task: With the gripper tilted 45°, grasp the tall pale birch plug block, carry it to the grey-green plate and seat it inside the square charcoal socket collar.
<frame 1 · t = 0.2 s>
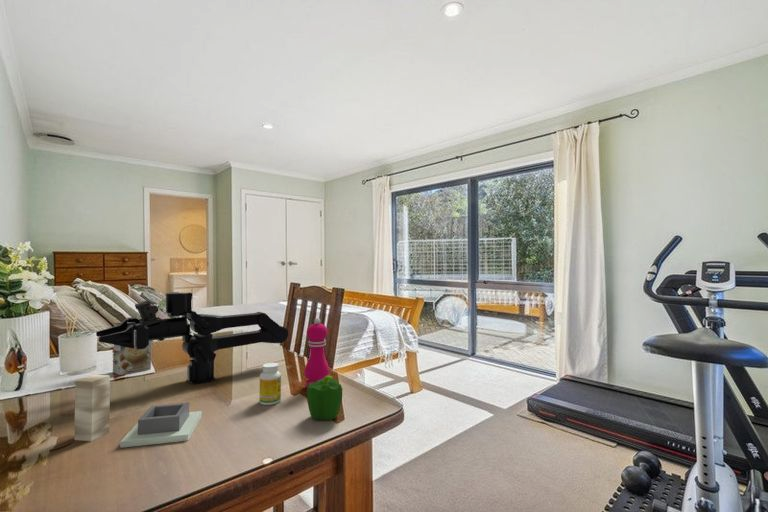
hand: (97, 336, 95), 17 cm above the table, tool horizontal, fingers open, 9 cm apart
pepper mill: (316, 387, 106), on the table
supplement bottle: (270, 402, 95), on the table
socket holder: (164, 430, 78), on the table
bell pepper: (324, 417, 86), on the table
plug block: (92, 435, 76), on the table
coffee box: (132, 371, 121), on the table
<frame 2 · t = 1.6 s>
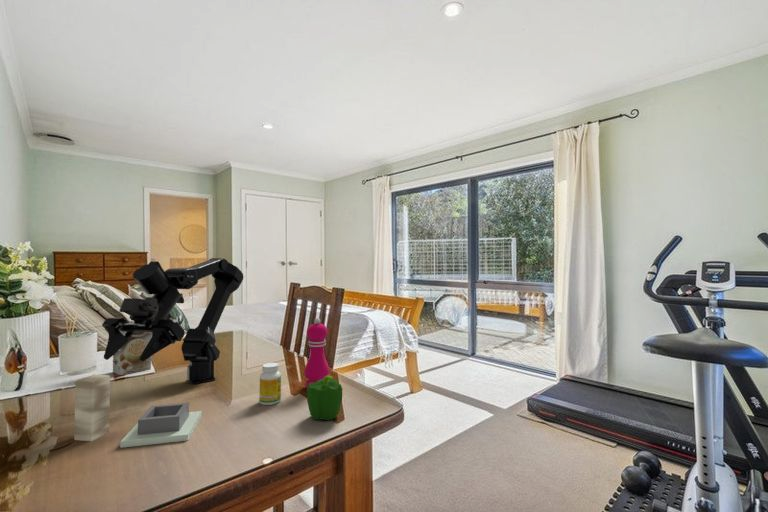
hand: (122, 359, 83), 14 cm above the table, tool tilted 45°, fingers open, 9 cm apart
nothing on the table moved.
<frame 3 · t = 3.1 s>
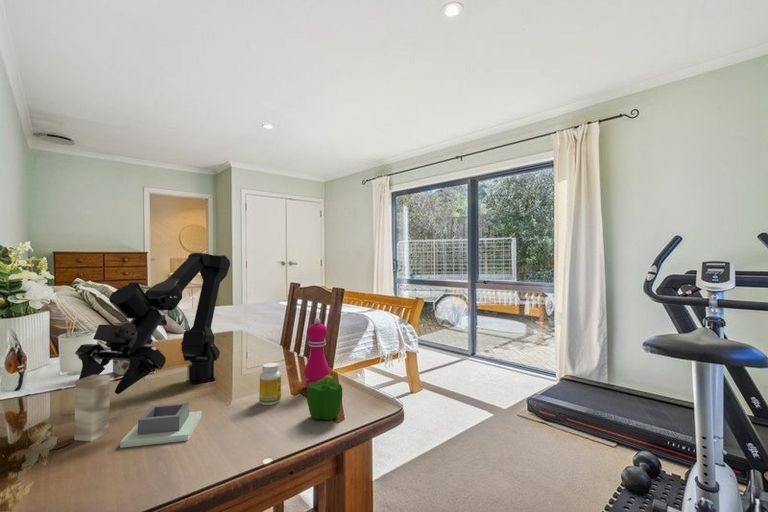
hand: (96, 392, 77), 9 cm above the table, tool tilted 45°, fingers open, 9 cm apart
nothing on the table moved.
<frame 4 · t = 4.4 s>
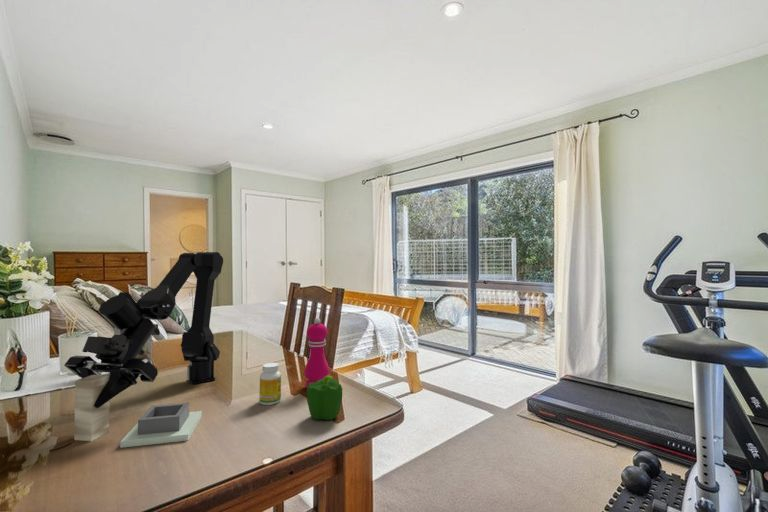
hand: (86, 406, 74), 7 cm above the table, tool tilted 45°, fingers closed on plug block, 4 cm apart
plug block: (92, 435, 76), on the table, touching gripper
everything else where it was.
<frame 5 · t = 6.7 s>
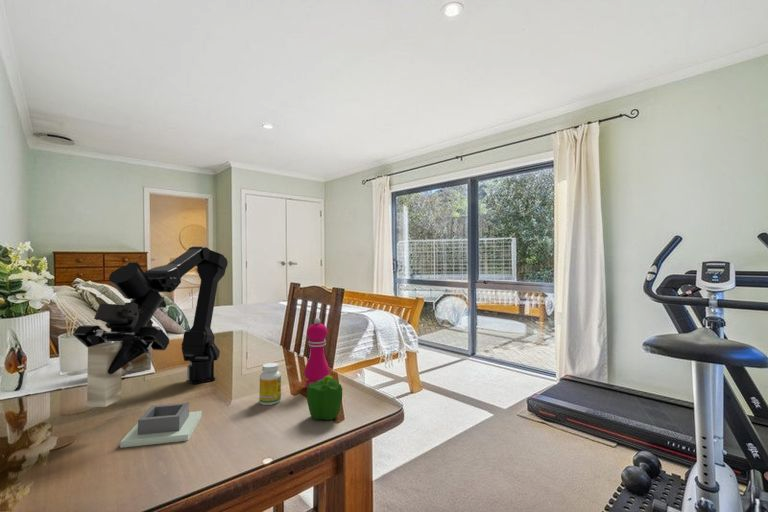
hand: (99, 373, 75), 13 cm above the table, tool tilted 45°, fingers closed on plug block, 4 cm apart
plug block: (104, 402, 76), point 7 cm above the table, touching gripper
everything else where it was.
when the fingers open (9 cm above the table, at t = 9.2 s): plug block drops 2 cm, resting on socket holder.
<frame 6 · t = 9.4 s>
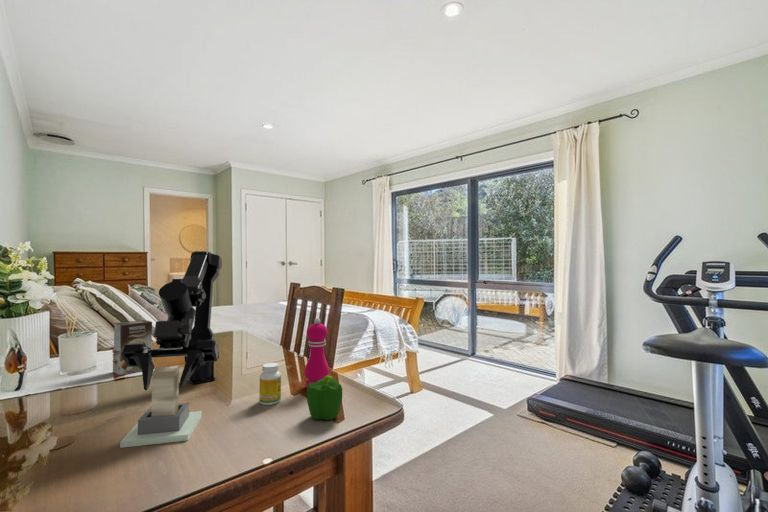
hand: (163, 388, 77), 10 cm above the table, tool tilted 45°, fingers open, 6 cm apart
plug block: (165, 424, 78), point 1 cm above the table, touching socket holder
everything else where it was.
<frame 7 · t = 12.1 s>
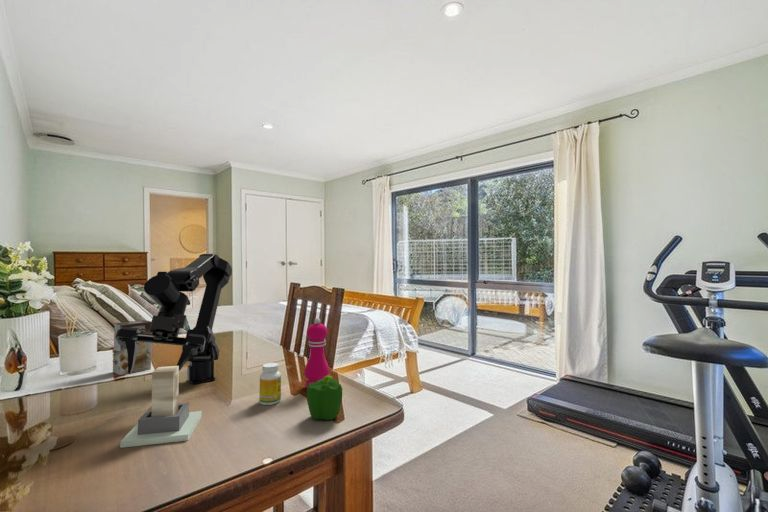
hand: (152, 375, 85), 10 cm above the table, tool tilted 35°, fingers open, 9 cm apart
nothing on the table moved.
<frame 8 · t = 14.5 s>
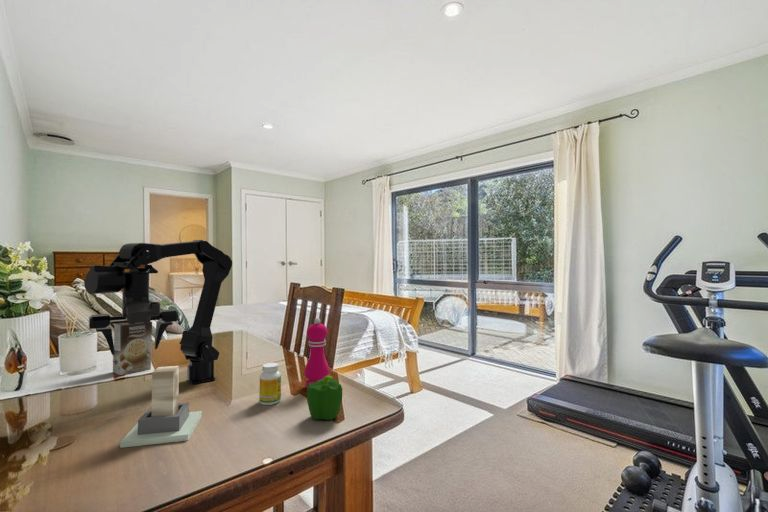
hand: (135, 351, 94), 13 cm above the table, tool pointing down, fingers open, 9 cm apart
nothing on the table moved.
at the end: plug block 0.0 cm off-centre on the socket holder, point 1.2 cm above the socket holder's base; plug block tilted 0°; the gripper is holding nothing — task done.
